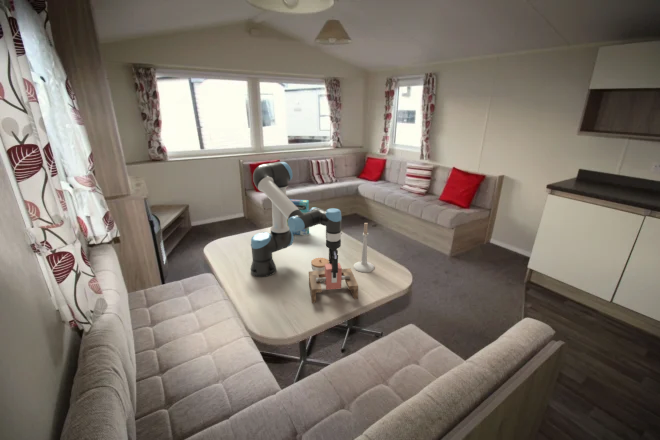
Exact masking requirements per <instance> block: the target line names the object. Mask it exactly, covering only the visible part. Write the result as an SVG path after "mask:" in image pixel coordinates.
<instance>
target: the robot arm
mask: <svg viewBox="0 0 660 440" xmlns="http://www.w3.org/2000/svg"><path fill="white" fill-rule="evenodd" d="M293 177H294V176H293V170H292V168H291V166H290V165H289V164H288V163H287V162H286V161H275V162H269V163H262V164H260V165H258V166H257V167H256V168H255V169H254V170H253V174H252V181H253V183H254V186H255V187H256V189H257V190H258V191H260V193H261V192H262V193H263V194H264V195H265V196H266V197H267V198H268V199H269V200H270V201H271V211H272V212H271V213H272V214H271V215H272V216H271V217H272V218H271V219H272V226H271V227H270V232H267V231H263V232H257V233H255V234H254V235H252V237H251V239H250V247H251V257H252V261H251V265H250V274H251V275H252V276H254V277H258V278H263V277H269V276H272V275H273V274H275V273H276V272H277V266H276V264H275V261H274V258H273V253H276V252H278V251H281V250H284V249H287V248H288V247H291V245H292V244H293V243H294V238H295V237H294V235H295V234H292V231H293V232H297V231H302V230H303V229H306V228H309V229H310V228H311V227H315V226H317V225H322V226H325V246H326V248H328V260H329V264H331V263H332V271H331V273H332V279H331V282H332V283H336V282H337V273H338V263H339V255H338V254H339V253H338V252H339V251H338V249H339V248H341V246H342V245H341V244H342V241H341V239H342V234H343V232H342V211H341V210H340V208H334V207H332V208H330V207H329V208H328V209H323V208H320V207H316V206H314V207H311V208H309V211H308V212H307V213H302V212H301V211H300V210H299V209H298V208H297V207H296V206H295V205H294V204H293V202H292V201H291V200H290V199H291V198H289V197H288V196H287V188H288V187H289V182H290V181H292V179H293ZM287 219H288V226H289V227H288V226H287Z"/></svg>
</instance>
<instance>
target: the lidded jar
mask: <svg viewBox="0 0 660 440" xmlns="http://www.w3.org/2000/svg"><path fill="white" fill-rule="evenodd" d="M310 264H311V270H312V271H323V270H325V264H329V258H326V257H315V258H313V259H312V260H311V263H310Z"/></svg>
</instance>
